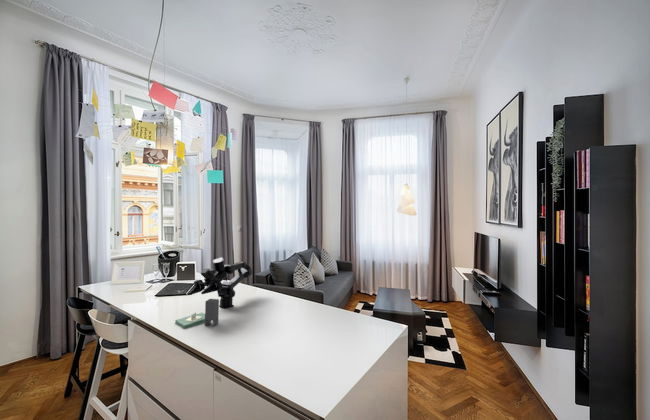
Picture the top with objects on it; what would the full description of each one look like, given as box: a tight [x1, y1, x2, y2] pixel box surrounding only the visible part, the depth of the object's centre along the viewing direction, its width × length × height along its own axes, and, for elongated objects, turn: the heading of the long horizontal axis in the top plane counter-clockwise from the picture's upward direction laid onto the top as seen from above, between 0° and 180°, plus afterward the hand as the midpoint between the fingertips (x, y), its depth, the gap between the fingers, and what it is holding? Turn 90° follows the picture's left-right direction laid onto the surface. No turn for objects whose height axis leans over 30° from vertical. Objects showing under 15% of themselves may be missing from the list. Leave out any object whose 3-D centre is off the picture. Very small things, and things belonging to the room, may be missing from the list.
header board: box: [174, 312, 205, 329], centre depth 139 cm, size 14×10×4 cm
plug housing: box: [204, 298, 220, 328], centre depth 135 cm, size 4×5×12 cm
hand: (195, 293), depth 140 cm, fingers open, 9 cm apart
